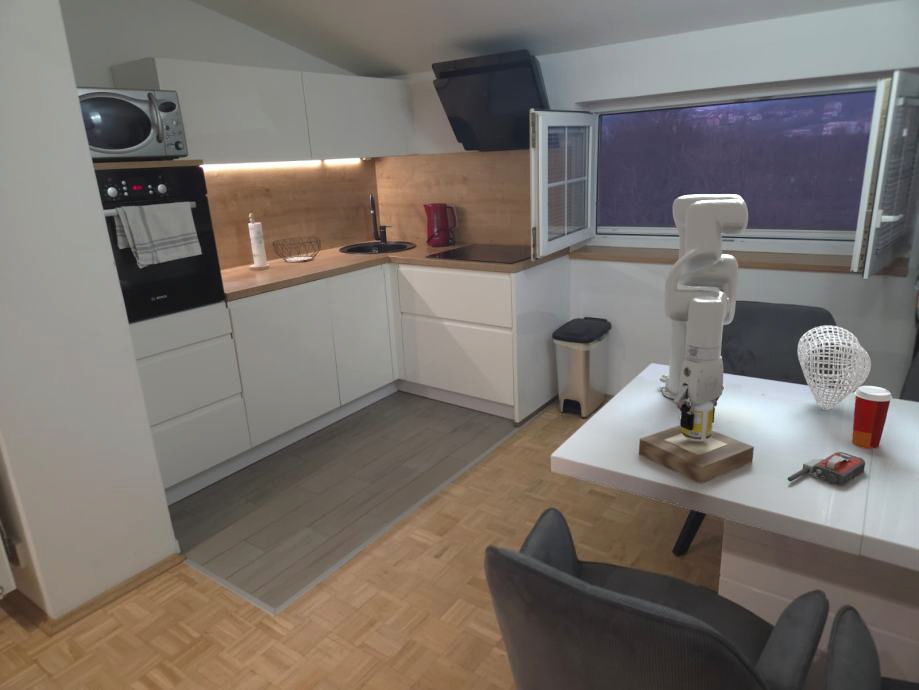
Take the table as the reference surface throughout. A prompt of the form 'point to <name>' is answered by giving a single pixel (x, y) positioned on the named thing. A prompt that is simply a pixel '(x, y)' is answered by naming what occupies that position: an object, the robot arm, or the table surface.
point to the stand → (696, 453)
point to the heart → (858, 363)
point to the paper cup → (870, 415)
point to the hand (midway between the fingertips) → (697, 424)
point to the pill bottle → (700, 422)
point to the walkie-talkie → (833, 468)
